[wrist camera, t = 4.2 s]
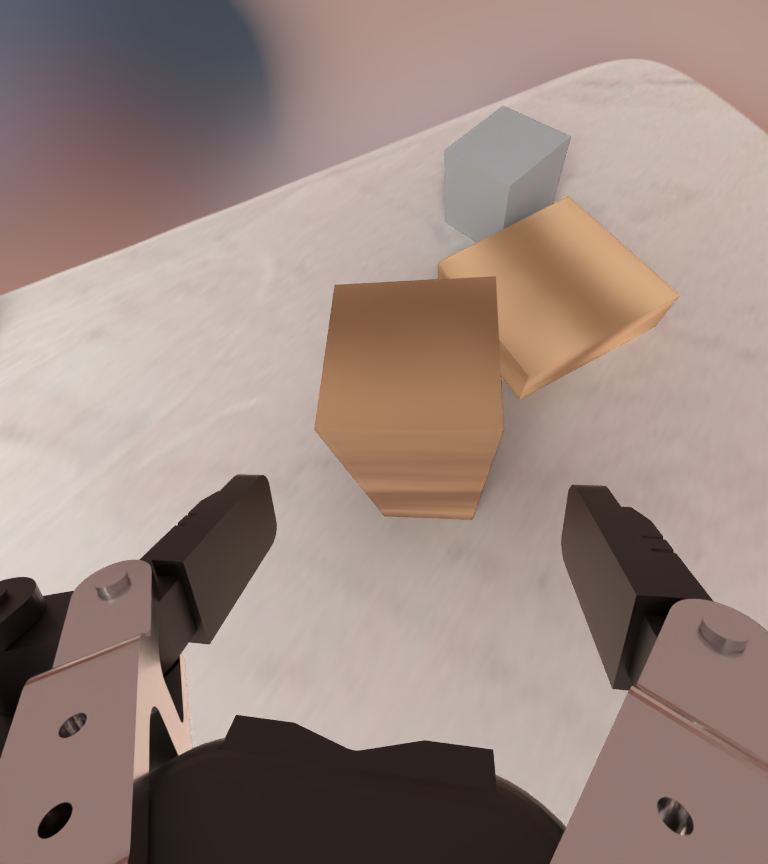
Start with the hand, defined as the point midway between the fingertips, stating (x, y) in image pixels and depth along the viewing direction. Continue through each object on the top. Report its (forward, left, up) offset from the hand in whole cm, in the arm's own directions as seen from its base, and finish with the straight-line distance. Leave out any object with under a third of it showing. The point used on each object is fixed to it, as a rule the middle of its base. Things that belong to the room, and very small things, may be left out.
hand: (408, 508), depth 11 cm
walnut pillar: (+2, +3, -10) cm, 11 cm away
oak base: (+13, +9, -10) cm, 19 cm away
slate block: (+15, +17, -10) cm, 25 cm away
